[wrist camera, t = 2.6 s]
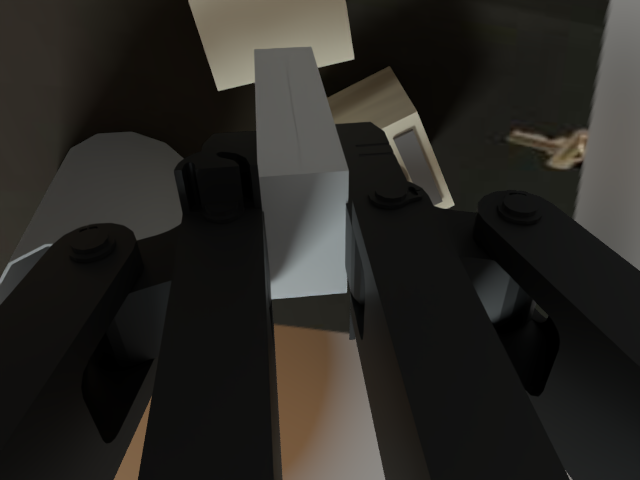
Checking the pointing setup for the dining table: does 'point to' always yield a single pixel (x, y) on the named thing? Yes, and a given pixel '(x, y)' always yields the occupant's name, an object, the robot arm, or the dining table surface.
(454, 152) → the dining table surface
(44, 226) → the cup
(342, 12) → the plain block
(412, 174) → the striped block
